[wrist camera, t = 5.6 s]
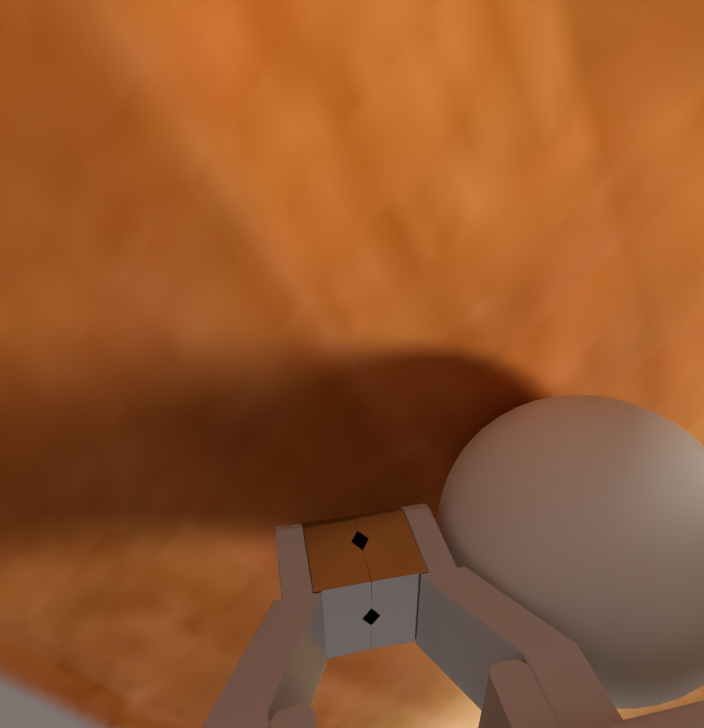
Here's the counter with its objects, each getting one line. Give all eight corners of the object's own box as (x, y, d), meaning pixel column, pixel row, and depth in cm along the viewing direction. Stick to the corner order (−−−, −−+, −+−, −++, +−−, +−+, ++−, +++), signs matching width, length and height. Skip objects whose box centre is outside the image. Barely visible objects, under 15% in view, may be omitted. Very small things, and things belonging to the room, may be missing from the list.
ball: (376, 467, 8) (814, 695, 6) (521, 312, 12) (838, 402, 9) (385, 641, 12) (662, 841, 9) (496, 481, 15) (722, 586, 12)
